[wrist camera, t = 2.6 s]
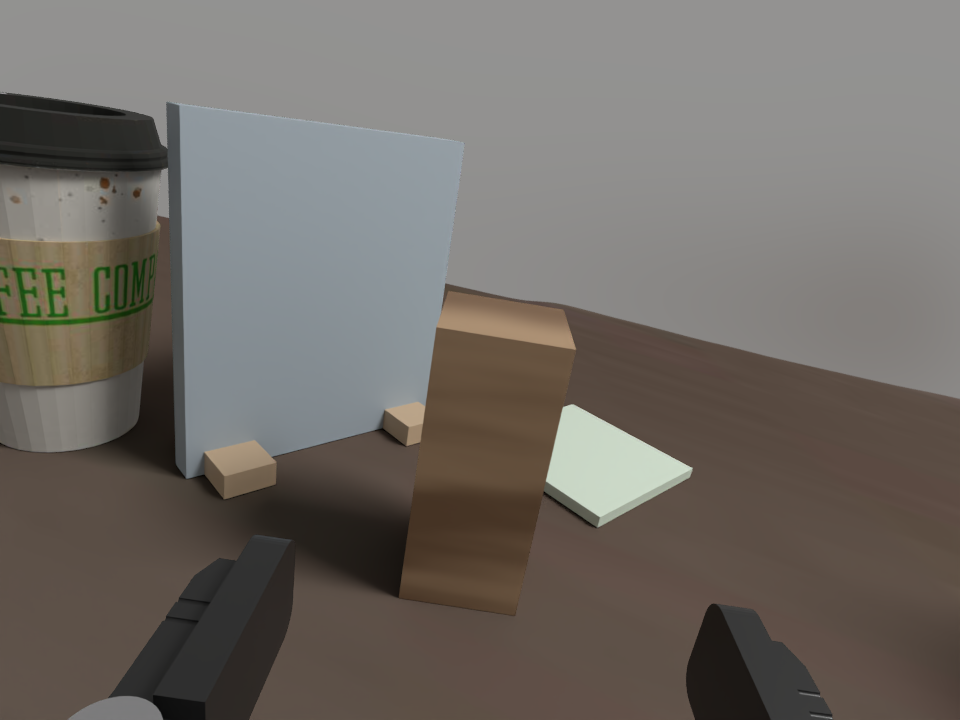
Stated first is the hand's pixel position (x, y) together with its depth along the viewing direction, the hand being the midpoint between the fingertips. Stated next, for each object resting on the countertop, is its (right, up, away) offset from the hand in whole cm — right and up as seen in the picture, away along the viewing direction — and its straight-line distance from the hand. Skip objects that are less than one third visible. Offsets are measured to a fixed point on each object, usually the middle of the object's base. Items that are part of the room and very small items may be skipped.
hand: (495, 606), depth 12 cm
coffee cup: (-21, +2, +19) cm, 29 cm away
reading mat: (+6, -1, +24) cm, 24 cm away
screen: (-9, +1, +22) cm, 23 cm away
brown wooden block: (-1, -4, +14) cm, 14 cm away
